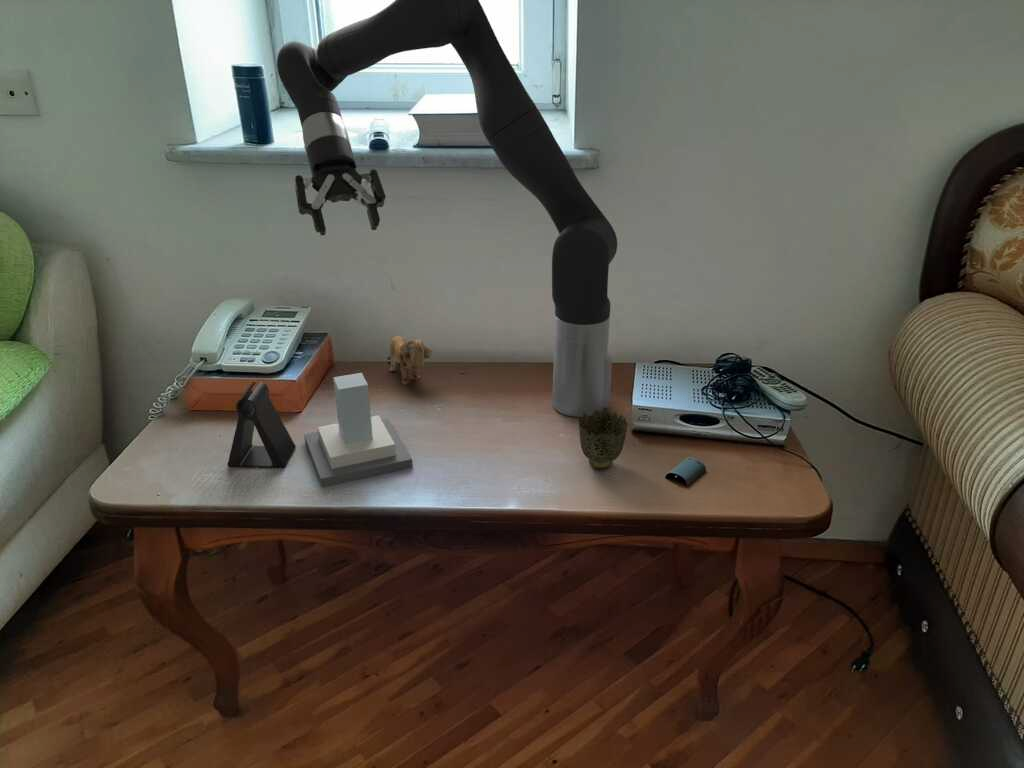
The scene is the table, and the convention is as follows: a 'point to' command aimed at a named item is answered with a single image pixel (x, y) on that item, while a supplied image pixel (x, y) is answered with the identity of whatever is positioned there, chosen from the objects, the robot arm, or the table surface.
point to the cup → (602, 437)
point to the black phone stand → (259, 432)
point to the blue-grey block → (353, 408)
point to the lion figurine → (408, 356)
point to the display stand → (356, 453)
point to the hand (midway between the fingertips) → (349, 230)
